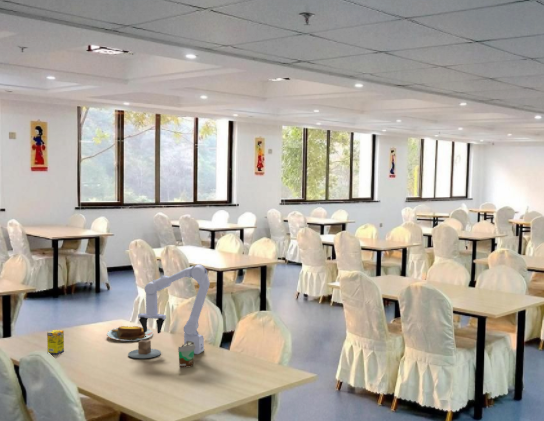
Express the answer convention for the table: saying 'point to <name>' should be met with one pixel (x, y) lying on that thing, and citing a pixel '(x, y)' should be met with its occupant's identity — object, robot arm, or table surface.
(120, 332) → the food on plate
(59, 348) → the supplement box
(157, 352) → the slate dish
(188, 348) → the food container
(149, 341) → the walnut block
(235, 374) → the table surface
